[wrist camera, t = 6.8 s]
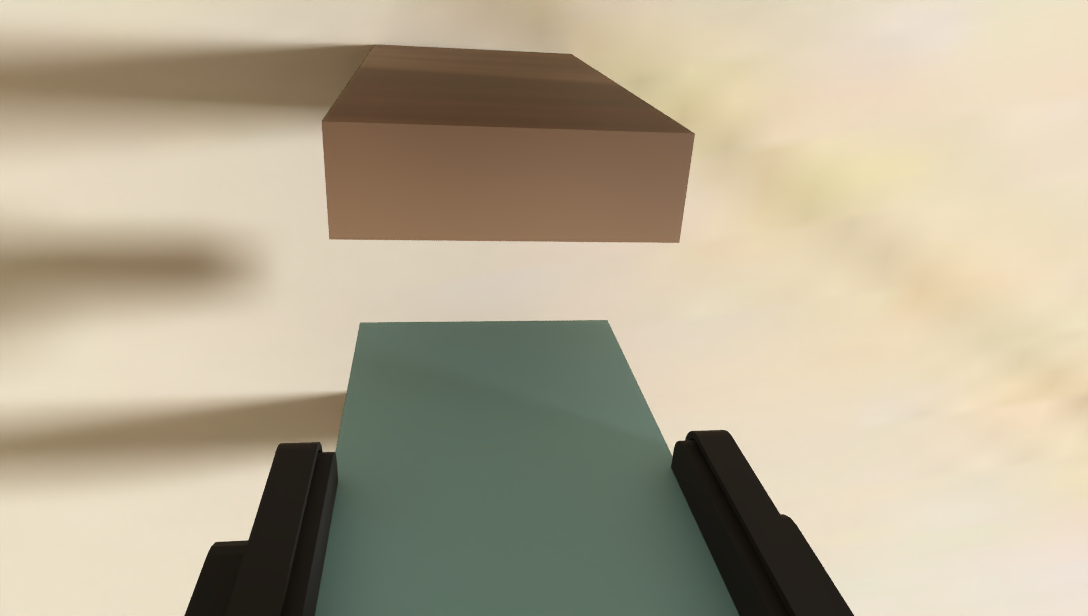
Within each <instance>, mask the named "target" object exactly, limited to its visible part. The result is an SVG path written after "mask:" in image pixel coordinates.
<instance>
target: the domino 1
mask: <svg viewBox="0 0 1088 616" xmlns="http://www.w3.org/2000/svg"><path fill="white" fill-rule="evenodd" d="M322 133H323V148H324V163H325V179H326V194H327V209H328V225H329V239H354V240H457V241H559V242H661V243H679V240H680V233H681V226H682V219H683V212H684V205H685V198H686V191H687V184H688V177H689V170H690V163H691V156H692V149H693V142H694V135H695V133H693V132H691V131H690V130H688V129H687V128H685V127H684V126H682V125H681V124H679V123H677V122H676V121H674V120H673V119H671V118H670V117H668V116H667V115H665V114H663V113H662V112H660V111H659V110H657V109H656V108H654V107H653V106H651V105H650V104H648V103H646V102H645V101H643V100H642V99H640V98H639V97H637V96H636V95H634V94H632V93H631V92H629V91H628V90H626V89H625V88H623V87H622V86H620V85H618V84H617V83H615V82H614V81H612V80H611V79H609V78H608V77H606V76H604V75H603V74H601V73H600V72H598V71H597V70H595V69H594V68H592V67H590V66H589V65H587V64H586V63H584V62H583V61H581V60H580V59H578V58H577V57H575V56H573V55H572V54H557V53H537V52H516V51H496V50H475V49H454V48H434V47H413V46H393V45H374V47H373V48H372V50H371V51H370V53H369V54H368V55H367V57H366V58H365V60H364V61H363V63H362V64H361V66H360V67H359V68H358V70H357V71H356V73H355V74H354V76H353V77H352V78H351V80H350V81H349V83H348V84H347V86H346V87H345V89H344V90H343V91H342V93H341V94H340V96H339V97H338V99H337V100H336V102H335V103H334V104H333V106H332V107H331V109H330V110H329V112H328V113H327V114H326V116H325V117H324V119H323V120H322Z"/></svg>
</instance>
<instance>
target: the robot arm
mask: <svg viewBox="0 0 1088 616" xmlns="http://www.w3.org/2000/svg"><path fill="white" fill-rule="evenodd" d="M671 469H672V471H673V473H674V475H675V478H676V480H677V482H678V484H679V486H680V488H681V491H682V493H683V495H684V497H685V499H686V501H687V503H688V506H689V508H690V510H691V512H692V514H693V516H694V519H695V521H696V523H697V525H698V527H699V529H700V532H701V534H702V536H703V538H704V540H705V542H706V545H707V547H708V549H709V551H710V553H711V555H712V557H713V560H714V562H715V564H716V566H717V568H718V570H719V573H720V575H721V577H722V579H723V581H724V583H725V586H726V588H727V590H728V592H729V594H730V596H731V599H732V601H733V603H734V605H735V607H736V609H737V611H738V614H739V616H854V615H853V613H852V611H851V610H850V608H849V607H848V605H847V604H846V602H845V600H844V599H843V597H842V596H841V594H840V593H839V591H838V589H837V588H836V586H835V585H834V583H833V582H832V580H831V578H830V577H829V575H828V574H827V572H826V571H825V569H824V567H823V566H822V564H821V563H820V561H819V560H818V558H817V556H816V555H815V553H814V552H813V550H812V549H811V547H810V546H809V544H808V542H807V541H806V539H805V538H804V536H803V535H802V533H801V531H800V530H799V528H798V527H797V525H796V524H795V523H794V522H793V520H792V519H791V518H790V517H788V516H786V515H784V514H783V515H780V513H779V512H778V510H777V508H776V507H775V505H774V504H773V502H772V500H771V499H770V497H769V496H768V494H767V492H766V491H765V489H764V487H763V486H762V484H761V483H760V481H759V479H758V478H757V476H756V475H755V473H754V471H753V470H752V468H751V466H750V465H749V463H748V462H747V460H746V458H745V457H744V455H743V454H742V452H741V450H740V449H739V447H738V446H737V444H736V442H735V441H734V439H733V437H732V436H731V434H730V433H729V432H728V431H726V430H710V431H691V432H689V433H688V434H687V436H686V439H685V441H678V442H676V444H675V447H674V452H673V458H672V464H671ZM337 486H338V470H337V458H336V453H335V452H322V446H321V443H320V442H312V443H281V444H279V445H278V448H277V450H276V453H275V457H274V460H273V463H272V466H271V469H270V473H269V476H268V479H267V482H266V486H265V489H264V492H263V495H262V499H261V502H260V505H259V508H258V511H257V515H256V518H255V521H254V524H253V528H252V531H251V534H250V537H249V541H229V542H215V543H214V544H213V545H212V546H211V548H210V550H209V552H208V554H207V557H206V559H205V562H204V565H203V568H202V570H201V573H200V576H199V578H198V581H197V584H196V586H195V589H194V592H193V594H192V597H191V600H190V603H189V605H188V608H187V611H186V613H185V616H315V612H316V606H317V600H318V594H319V589H320V583H321V577H322V572H323V566H324V560H325V554H326V549H327V543H328V537H329V531H330V526H331V520H332V514H333V509H334V503H335V497H336V491H337Z"/></svg>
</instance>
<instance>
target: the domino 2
mask: <svg viewBox="0 0 1088 616" xmlns="http://www.w3.org/2000/svg"><path fill="white" fill-rule="evenodd" d="M335 453H336V458H337V470H338V486H337V491H336V497H335V503H334V509H333V514H332V520H331V526H330V531H329V537H328V543H327V549H326V554H325V560H324V566H323V572H322V577H321V583H320V589H319V594H318V600H317V606H316V612H315V616H739V614H738V611H737V609H736V607H735V605H734V603H733V601H732V599H731V596H730V594H729V592H728V590H727V588H726V586H725V583H724V581H723V579H722V577H721V575H720V573H719V570H718V568H717V566H716V564H715V562H714V560H713V557H712V555H711V553H710V551H709V549H708V547H707V545H706V542H705V540H704V538H703V536H702V534H701V532H700V529H699V527H698V525H697V523H696V521H695V519H694V516H693V514H692V512H691V510H690V508H689V506H688V503H687V501H686V499H685V497H684V495H683V493H682V491H681V488H680V486H679V484H678V482H677V480H676V478H675V475H674V473H673V471H672V469H671V464H672V458H673V457H672V455H671V453H670V451H669V448H668V446H667V444H666V442H665V440H664V438H663V436H662V434H661V432H660V430H659V427H658V425H657V423H656V421H655V419H654V417H653V415H652V413H651V411H650V409H649V407H648V404H647V402H646V400H645V398H644V396H643V394H642V392H641V390H640V388H639V386H638V384H637V381H636V379H635V377H634V375H633V373H632V371H631V369H630V367H629V365H628V363H627V360H626V358H625V356H624V354H623V352H622V350H621V348H620V346H619V344H618V342H617V340H616V337H615V335H614V333H613V331H612V329H611V327H610V325H609V323H608V321H607V320H588V321H483V322H379V323H360V326H359V331H358V336H357V342H356V347H355V352H354V357H353V363H352V368H351V373H350V378H349V384H348V389H347V394H346V399H345V405H344V410H343V415H342V420H341V426H340V431H339V436H338V442H337V447H336V452H335Z"/></svg>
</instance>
